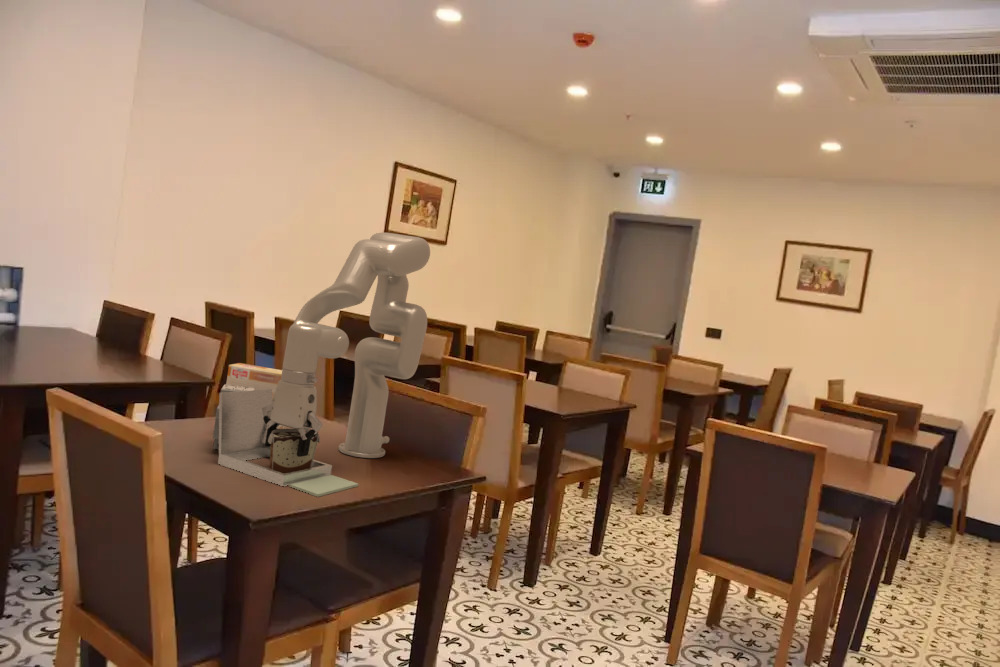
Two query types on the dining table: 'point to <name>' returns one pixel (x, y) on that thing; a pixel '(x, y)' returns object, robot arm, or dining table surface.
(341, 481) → the mat
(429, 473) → the dining table surface
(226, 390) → the circuit breaker
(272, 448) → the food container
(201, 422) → the dining table surface
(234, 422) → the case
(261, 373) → the coffeecake box
